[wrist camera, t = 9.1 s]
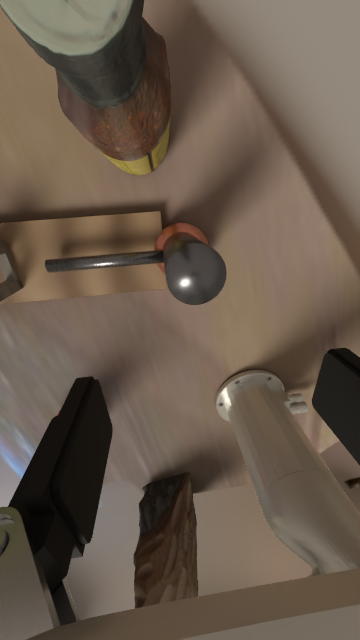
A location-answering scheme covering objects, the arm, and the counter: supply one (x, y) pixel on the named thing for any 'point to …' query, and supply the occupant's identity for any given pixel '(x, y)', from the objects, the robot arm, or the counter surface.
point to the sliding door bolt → (166, 263)
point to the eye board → (76, 241)
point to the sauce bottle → (104, 73)
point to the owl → (166, 543)
